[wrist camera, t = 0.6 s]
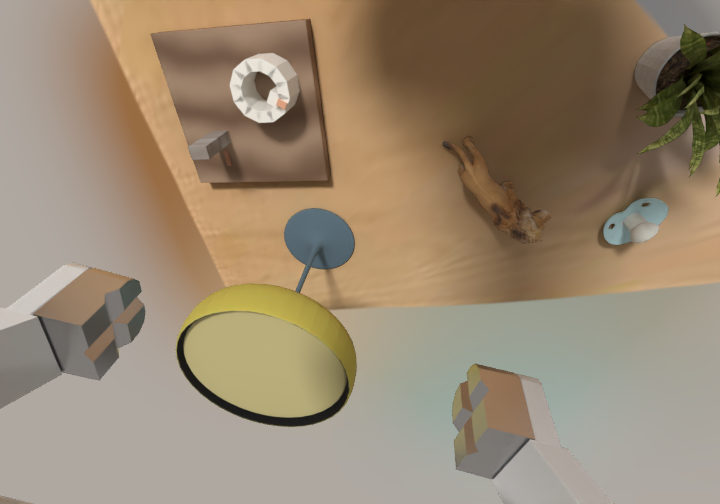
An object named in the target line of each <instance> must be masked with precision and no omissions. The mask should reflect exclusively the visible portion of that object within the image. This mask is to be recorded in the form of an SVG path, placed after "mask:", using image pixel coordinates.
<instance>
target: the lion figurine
mask: <svg viewBox="0 0 720 504" xmlns="http://www.w3.org/2000/svg"><path fill="white" fill-rule="evenodd" d="M463 144H464V145H465V147H466V149H467V150H468V151H469V152H470V153H471V155H472V158H473V163H472V164H471V163H470V162H469V160H468V159H467V157H466V155H465V154H464V152H463V151H462V150H461V149H460V148H459V147H457V146H454V145H452V144H451V143H450V142H446V141H444V142H443V143H442V145H443V146H445V147H447V148H448V149H452V150H455V151H457V152H458V154H459V155H460V157H461V159H462V161H463V163H464V166H463V165H460V166H459V169H458V173H459V176H461V180H462V182H463V183H464V185H465V186H466V187H467V188H468V189H469V190H470V191H471V192H472V193H474V194H475V196H476V197H477V199H478V200H479V202H480V203H481V205H482V206H483V207H484V209H485V210H486V211H487V212H489V213H490V214H491V217H492V218H493V222H494V225H495V226H496V227H497V228H498V230H500V231H503V232H504V233H505V234H506V235H508V236H509V237H510V238H513V239H515V240H517V241H519V242H521V243H533V242H536V241H542V240H541V236H540V235H541V233H540V232H541V230H542V229H543V228H544V223H545V222H546V221H548V220H549V219H550V218H551V214H550V213H549V212H547V211H545V210H538V211H535V212H531V210H530V209H529V208H528V207H525V205H524V204H523V203H522V202H521V201H520V200H518V199H517V198H516V195H515V193H514V191H513V190H512V188H513V183H512V182H505V183H504V184H502V186H500V185H498V184H497V183H496V182H495V181H494V180H493V179H491V178H489V171H488V167H487V165H486V163H485V160H484V158H483V157H482V155H481V154H480V153H479V152H478V151H477V150H476V149H475V147H474V146H473V139H472V138H470V137H467V138H465V139H464V140H463Z"/></svg>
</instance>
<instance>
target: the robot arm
mask: <svg viewBox="0 0 720 504" xmlns="http://www.w3.org/2000/svg"><path fill="white" fill-rule="evenodd" d="M140 293H141V287H140V282H139V281H138V280H135V279H132V278H129V277H125V276H122V275H118V274H114V273H111V272H107V271H103V270H100V269H96V268H92V267H88V266H84V265H81V264H77V263H70V264H66V265H64V266H62V267H61V268H60V269H58V270H57V271H56V272H54V273H53V274H52V275H51V276H49V277H48V278H46V279H45V280H44V281H42V282H41V283H40V284H38V285H37V286H36V287H34V288H33V289H32V290H30V291H29V292H28V293H27V294H25V295H24V296H23V297H21V298H20V299H19V300H17V301H16V302H15V303H13V304H12V305H11V306H9V307H8V308H7V309H6V308H2V307H0V409H1V408H2V407H4V406H6V405H8V404H10V403H11V402H13V401H15V400H17V399H19V398H20V397H22V396H24V395H26V394H28V393H29V392H31V391H33V390H35V389H36V388H38V387H40V386H42V385H44V384H46V383H47V382H49V381H51V380H52V379H54V378H56V377H58V376H60V375H61V374H62V373H61V372H63V373H67V374H72V375H77V376H81V377H86V378H90V379H95V380H100V379H101V378H102V377H103V376H104V374H105V373H106V372H107V371H108V370H109V369H110V367H111V366H112V365H113V364H114V363H115V361H116V360H117V359H118V358H119V348H120V347H122V346H124V345H127V344H129V343H131V342H132V341H133V340H134V338H135V337H136V336H137V335H138V333H139V332H140V329H141V327H142V325H143V323H144V319H145V307H144V304H143V303H142V302H141V301H140V300H139V299H138V298H137V296H138V295H139V294H140ZM467 378H468V381H466V382H464V383H461V384H460V385H459V387H458V389H457V391H456V393H455V397H454V401H453V410H452V416H453V424H454V425H455V427H456V428H457V430H458V431H459V434H458V435H457V437H456V439H455V440H454V448H455V461H456V469H457V470H460V471H464V472H467V473H471V474H475V475H478V476H482V477H485V478H489V479H493V480H492V483H493V485H494V487H495V488H496V490H497V492H498V494H499V496H500V498H501V500H502V501H503V503H504V504H613V502H612V501H611V500H610V499H609V498H608V496H607V495H606V494H605V493H604V492H603V490H602V489H601V488H600V487H599V486H598V484H597V483H596V482H595V481H594V480H593V479H592V477H591V476H590V475H589V474H588V473H587V471H586V470H585V469H584V468H583V467H582V465H581V464H580V463H579V462H578V461H577V459H576V458H575V457H574V456H573V455H572V454H571V452H570V451H569V450H568V449H566V448H563V447H561V446H560V443H559V439H558V436H557V433H556V429H555V426H554V423H553V419H552V416H551V413H550V410H549V406H548V403H547V400H546V397H545V393H544V390H543V387H542V384H541V382H540V381H539V380H538V379H536V378H532V377H527V376H524V375H519V374H515V373H512V372H508V371H504V370H499V369H495V368H491V367H486V366H483V365H478V364H474V365H472V366H471V367H470V369H469V370H468V372H467ZM0 504H32V503H28V502H24V501H20V500H16V499H12V498H8V497H4V496H0Z"/></svg>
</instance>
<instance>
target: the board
mask: <svg viewBox="0 0 720 504" xmlns="http://www.w3.org/2000/svg"><path fill="white" fill-rule="evenodd" d="M151 37H152V40H153V43H154V46H155V49H156V52H157V55H158V58H159V61H160V64H161V67H162V70H163V73H164V75H165V78H166V81H167V84H168V87H169V90H170V93H171V96H172V99H173V102H174V105H175V108H176V111H177V114H178V117H179V120H180V123H181V126H182V129H183V132H184V134H185V137H186V140H187V143H188V146H189V147H188V149H189V152H190V155H191V158H192V160H193V161H194V164H195V167H196V170H197V173H198V176H199V179H200V182H201V183H218V182H271V181H324V180H328V178H329V176H330V167H329V160H328V152H327V144H326V137H325V129H324V122H323V114H322V106H321V99H320V91H319V83H318V76H317V68H316V61H315V53H314V45H313V38H312V30H311V23H310V19H303V20H291V21H280V22H269V23H258V24H247V25H235V26H224V27H213V28H202V29H190V30H179V31H168V32H158V33H152V34H151ZM265 53H274V54H276V55H278V56H280V57H282V58H284V59H286V60H287V61H288V62H289V63H290V65H291V66H292V68H293V69H294V71H295V72H296V74H297V76H298V83H299V89H300V92H299V94H298V97H297V100H296V103H295V105H294V106H293V107H292V108H291V109H289V110H288V111H287V112H286V113H285V114H284V115H282V116H281V117H280V118H278V119H277V120H276V121H274V122H267V123H258V122H256V121H254V120H252V119H250V118H248V117H246V116H244V114H243V113H242V112H241V110H240V109H239V108H238V107H237V105H236V104H235V103H234V101H233V97H232V93H231V89H230V81H231V77H232V73H233V69H234V68H236V67H237V66H238V65H239V64H240V63H241V62H242V61H243V60H245V59H247V58H250V57H252V56H255V55H257V54H265ZM254 81H255V85H256V90H257V92H258V93H259V94H260V96H261V97H262V98H263V99H265V100H267V99H268V96H269V93H270V90H272V89H273V88H275V87H276V84H275V83H274V82H273V80H272V79H271V77H270V76H268V75H266V74H264V73H262V72H260V71H258V72H257V73H256V77H255V80H254Z"/></svg>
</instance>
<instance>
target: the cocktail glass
mask: <svg viewBox="0 0 720 504" xmlns="http://www.w3.org/2000/svg"><path fill="white" fill-rule="evenodd" d="M284 237H285V242H286V245H287V247H288V249H289V251H290V252H291V253H292V255H293V256H294V257H295V258H296V259H298V260H299V261H300V262H302V263H303V264H305V265H306V266H305V269H304V271H303V274H302V276H301V279H300V281H299V283H298V286H297V288H296V290H295V291H293V290H290V289H287V288H283V287H280V286H274V285H268V284H242V285H234V286H231V287H227V288H224V289H221V290H219V291H217V292H215V293H213V294H211V295H209V296H208V297H207V298H205V299H204V300H203V301H202V302H200V303H199V304H198V305H197V306H196V307H195V308H194V310H193V311H192V312H191V314H190V315H189V316H188V317H187V319H186V320H185V322H184V324H183V326H182V328H181V330H180V332H179V335H178V337H177V343H176V355H177V360H178V363H179V366H180V368H181V370H182V372H183V374H184V375H185V377H186V378H187V380H188V381H189V382H190V383H191V385H192V386H193V387H194V388H195V389H196V390H197V391H198V392H199V393H200V394H202V395H203V396H204V397H206V398H207V399H208V400H209V401H211V402H212V403H214V404H215V405H217V406H219V407H220V408H222V409H224V410H226V411H228V412H230V413H232V414H234V415H237V416H239V417H241V418H245V419H247V420H250V421H254V422H258V423H262V424H267V425H273V426H283V427H298V426H306V425H313V424H316V423H319V422H322V421H325V420H327V419H329V418H331V417H333V416H334V415H335V414H336V413H338V412H339V411H340V410H341V409H342V408H343V407H344V406H345V404H346V403H347V401H348V399H349V397H350V395H351V392H352V389H353V386H354V381H355V376H356V367H357V366H356V353H355V349H354V346H353V342H352V340H351V338H350V336H349V334H348V333H347V330H346V329H345V328H344V326H343V325H342V324H341V323H340V322H339V320H338V319H337V318H336V317H335V316H334V315H333V314H332V313H331V312H330V311H329V310H327V309H326V308H325V307H323V306H322V305H321V304H319V303H318V302H316V301H314V300H313V299H311V298H309V297H307V296H305V295H303V294H300V291H301V288H302V286H303V284H304V281H305V279H306V277H307V274H308V272H309V270H310V267H313V268H318V269H331V268H335V267H338V266H340V265H342V264H344V263H345V262H346V261H347V260H348V259H349V258H350V256H351V255H352V252H353V250H354V237H353V233H352V231H351V229H350V227H349V226H348V224H347V223H346V222H345V221H344V220H343V219H342V218H340V217H339V216H338V215H336V214H334V213H332V212H330V211H327V210H324V209H318V208H311V209H305V210H302V211H300V212H298V213H296V214H295V215H293V216H292V217H291V218H290V220H289V221H288V223H287V224H286V227H285V232H284Z"/></svg>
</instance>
